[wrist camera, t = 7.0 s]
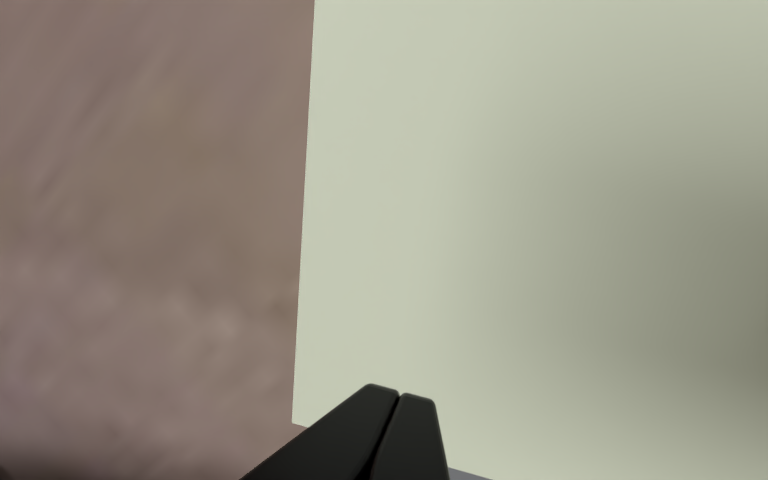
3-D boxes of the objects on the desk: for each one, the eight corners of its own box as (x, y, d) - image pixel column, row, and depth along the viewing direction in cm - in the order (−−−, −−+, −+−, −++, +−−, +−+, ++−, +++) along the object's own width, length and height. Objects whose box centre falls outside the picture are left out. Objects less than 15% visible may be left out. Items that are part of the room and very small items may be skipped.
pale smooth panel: (291, 422, 15) (778, 561, 13) (319, -79, 10) (1100, 33, 8) (328, 357, 17) (753, 469, 15) (365, -85, 12) (999, 2, 10)
